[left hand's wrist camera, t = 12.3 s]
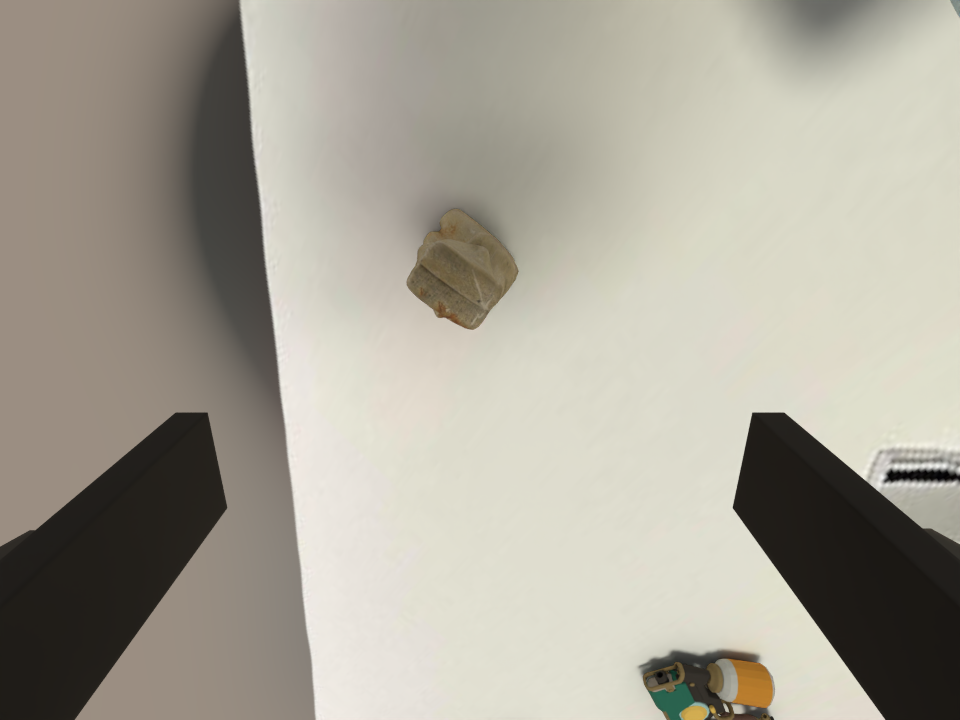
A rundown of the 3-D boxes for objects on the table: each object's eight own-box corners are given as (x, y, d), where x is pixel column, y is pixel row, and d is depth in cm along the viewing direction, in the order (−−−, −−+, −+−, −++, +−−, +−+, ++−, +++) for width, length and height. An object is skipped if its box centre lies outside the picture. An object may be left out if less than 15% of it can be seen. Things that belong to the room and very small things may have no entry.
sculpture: (460, 193, 41) (451, 211, 27) (527, 254, 43) (551, 301, 29) (414, 249, 43) (382, 293, 29) (480, 306, 45) (481, 374, 31)
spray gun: (768, 731, 65) (644, 741, 66) (776, 639, 58) (637, 652, 59) (786, 770, 61) (654, 780, 62) (796, 676, 54) (648, 690, 55)
